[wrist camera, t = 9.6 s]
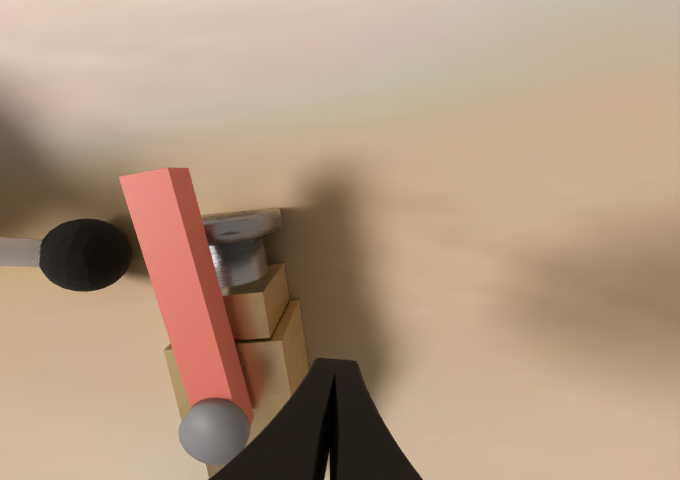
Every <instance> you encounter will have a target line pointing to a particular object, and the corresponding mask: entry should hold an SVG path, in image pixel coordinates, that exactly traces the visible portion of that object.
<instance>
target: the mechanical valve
mask: <svg viewBox="0 0 680 480" xmlns="http://www.w3.org/2000/svg"><path fill="white" fill-rule="evenodd" d="M131 258H132V251H131V246H130V244H129V242H128V240H127V238H126V236H125V235H124V234H123V233H122V232H121V231H120V230H119V229H118V228H116V227H114V226H113V225H111V224H109V223H107V222H104V221H101V220H96V219H78V220H73V221H68V222H65V223H62V224H60V225H59V226H57V227H56V228H54V229H53V230H51V231H50V232H49V233H48V234H47V235H46V236H45V238H44V239H43V240H39V239H22V238H4V237H0V266H31V267H40V268H41V270H42V271H43V273H44V274H45V275H46V277H47V278H48V279H49V280H50V281H51V282H53V283H54V284H56V285H58V286H60V287H62V288H64V289H69V290H73V291H85V292H88V291H94V290H99V289H102V288H105V287H107V286H109V285H111V284H113V283H115V282H116V281H118V280H119V279H120V278H121V277H122V276H123V275H124V274H125V272H126V270H127V269H128V267H129V264H130V261H131Z"/></svg>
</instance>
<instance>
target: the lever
mask: <svg viewBox="0 0 680 480" xmlns="http://www.w3.org/2000/svg"><path fill="white" fill-rule="evenodd" d="M119 180H120V183H121V186H122V190H123V193H124V196H125V199H126V202H127V206H128V209H129V212H130V215H131V218H132V222H133V225H134V228H135V231H136V234H137V237H138V241H139V244H140V247H141V250H142V253H143V257H144V260H145V263H146V266H147V269H148V273H149V276H150V279H151V282H152V285H153V288H154V292H155V295H156V298H157V301H158V304H159V308H160V311H161V314H162V317H163V320H164V324H165V327H166V330H167V333H168V336H169V340H170V343H171V346H172V349H173V352H174V355H175V359H176V362H177V365H178V368H179V371H180V375H181V378H182V381H183V384H184V387H185V391H186V394H187V397H188V400H189V403H190V406H191V408H190V410H189V411H188V412H187V414H186V415H185V417H184V418H183V420H182V422H181V424H180V427H179V439H180V442H181V444H182V446H183V448H184V449H185V450H186V452H187V453H188V454H189V455H191V456H192V457H193V458H195V459H196V460H198V461H200V462H203V463H206V464H211V465H223V464H227V463H229V462H230V461H231V460H232V459H233V458H234V457H235V456H236V455H237V454H239V453H240V452H241V451H242V450H243V449H244V448H245V446H246V444H247V441H248V439H249V436H250V431H251V427H250V426H251V424H252V421H253V419H254V414H253V410H252V406H251V402H250V399H249V395H248V391H247V387H246V384H245V380H244V376H243V372H242V369H241V365H240V361H239V357H238V354H237V350H236V346H235V342H234V339H233V335H232V331H231V327H230V323H229V320H228V316H227V312H226V308H225V305H224V301H223V297H222V293H221V290H220V286H219V282H218V278H217V275H216V271H215V267H214V263H213V260H212V256H211V252H210V248H209V245H208V241H207V237H206V233H205V230H204V226H203V222H202V218H201V215H200V211H199V207H198V203H197V200H196V196H195V192H194V188H193V184H192V181H191V177H190V173H189V169H188V168H164V169H158V170H153V171H147V172H142V173H136V174H131V175H126V176H120V177H119Z"/></svg>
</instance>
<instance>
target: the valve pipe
mask: <svg viewBox="0 0 680 480" xmlns="http://www.w3.org/2000/svg"><path fill="white" fill-rule="evenodd" d="M201 218H202V222H203V226H204V230H205V233H206V237H207V241H208V245H209V248H210V252H211V256H212V260H213V263H214V267H215V271H216V275H217V278H218V282H219V286H220V290H221V293H222V297H223V301H224V305H225V308H226V312H227V316H228V320H229V323H230V327H231V331H232V335H233V339H234V342H235V346H236V350H237V354H238V357H239V361H240V365H241V369H242V372H243V376H244V380H245V384H246V387H247V391H248V395H249V399H250V402H251V406H252V410H253V414H254V419H253V421H252V424H251V426H250V427H251V431H250V436H249V439H248V441H247V444H246V446H247V445H248V444H249V443H250V442H251V441H252V440H253V439H254V438H255V437H256V436H257V435H258V434H259V433H260V432H261V431H262V430H263V429H264V428H265V427H266V426H267V425H268V424H269V423H270V421H271V420H272V419H273V418H274V417H275V416H276V414H277V413H278V412H279V411H280V410H281V408H282V407H283V406H284V405H285V404H286V402H287V401H288V400H289V399H290V397H291V396H292V394H293V393H294V392H295V390H296V389H297V388H298V386H299V385H300V384H301V382H302V381H303V379H304V377H305V376H306V374H307V373H308V371H309V364H308V357H307V350H306V343H305V336H304V329H303V323H302V316H301V309H300V302H299V300H289V299H290V297H289V291H288V284H287V278H286V271H285V265H284V263H281V264H271V265H267V260H266V254H265V248H264V242H263V236H264V235H267V234H270V233H273V232H275V231H278V230H280V229H281V228H282V227H283V226H282V219H281V212H280V209H279V208H269V209H259V210H250V211H241V212H231V213H222V214H212V215H203V216H201ZM164 353H165V357H166V361H167V365H168V368H169V372H170V376H171V380H172V384H173V388H174V392H175V396H176V400H177V404H178V408H179V412H180V416H181V420H183V418H184V417H185V415H186V414H187V412H188V411H189V410H190V408H191V406H190V403H189V400H188V397H187V394H186V391H185V387H184V384H183V381H182V378H181V375H180V371H179V368H178V365H177V362H176V359H175V355H174V352H173V349H172V346H171V344H170V345H169V346H167V347H166V348H165V349H164ZM246 446H245V447H246ZM227 464H228V463H227ZM225 465H226V464H223V465H211V464H206V466H207V470H208V474H209V478H211V477H212V476H213V475H215V474H216V473H217V472H218V471H219V470H221V469H222V468H223V467H224V466H225Z"/></svg>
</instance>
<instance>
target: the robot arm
mask: <svg viewBox="0 0 680 480" xmlns="http://www.w3.org/2000/svg"><path fill="white" fill-rule="evenodd" d="M329 449H330V480H423V479H422V478H421V477H420V475H419V474H418V473H417V471H416V470H415V469H414V467H413V466H412V465H411V463H410V462H409V460H408V459H407V458H406V456H405V455H404V453H403V452H402V450H401V449H400V447H399V446H398V444H397V443H396V441H395V440H394V438H393V437H392V435H391V433H390V432H389V430H388V428H387V427H386V425H385V423H384V421H383V420H382V418H381V416H380V414H379V412H378V410H377V408H376V406H375V404H374V402H373V401H372V399H371V397H370V394H369V392H368V390H367V388H366V385H365V383H364V381H363V378H362V375H361V372H360V369H359V365H358V363H357V362H356V361H350V360H338V359H326V358H317V359H316V360H314V362H313V364H312V366H311V368H310V369H309V371H308V373H307V374H306V376H305V377H304V379H303V381H302V382H301V384H300V385H299V386H298V388H297V389H296V390H295V392H294V393H293V394H292V396H291V397H290V399H289V400H288V401H287V402H286V404H285V405H284V406H283V407H282V408H281V410H280V411H279V412H278V413H277V414H276V416H275V417H274V418H273V419H272V420H271V421H270V423H269V424H268V425H267V426H266V427H265V428H264V429H263V430H262V431H261V432H260V433H259V434H258V435H257V436H256V437H255V438H254V439H253V440H252V441H251V442H250V443H249V444H248V445H247V446H246V447H245V448H244V449H243V450H242V451H241V452H240V453H239V454H237V455H236V456H235V457H234V458H233V459H232V460H231V461H230V462H229V463H228V464H226V465H225V466H224V467H223V468H222V469H221V470H219V471H218V472H217V473H216V474H215V475H213V476H212V477H211V478H210V479H208V480H324V478H325V472H326V466H327V461H328V455H329Z"/></svg>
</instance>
